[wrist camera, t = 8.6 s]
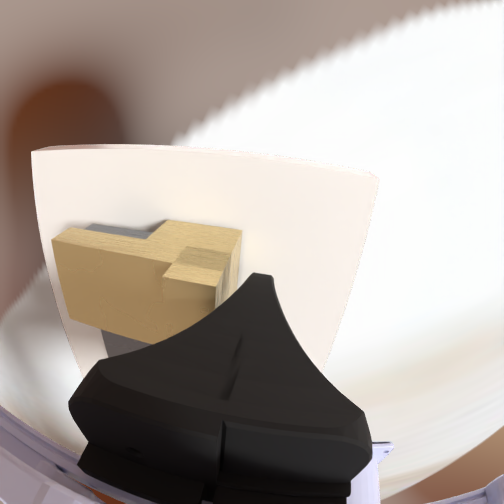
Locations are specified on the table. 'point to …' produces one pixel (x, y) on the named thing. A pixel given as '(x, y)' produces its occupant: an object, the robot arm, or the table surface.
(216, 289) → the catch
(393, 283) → the table surface
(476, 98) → the table surface
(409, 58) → the table surface
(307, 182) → the board
